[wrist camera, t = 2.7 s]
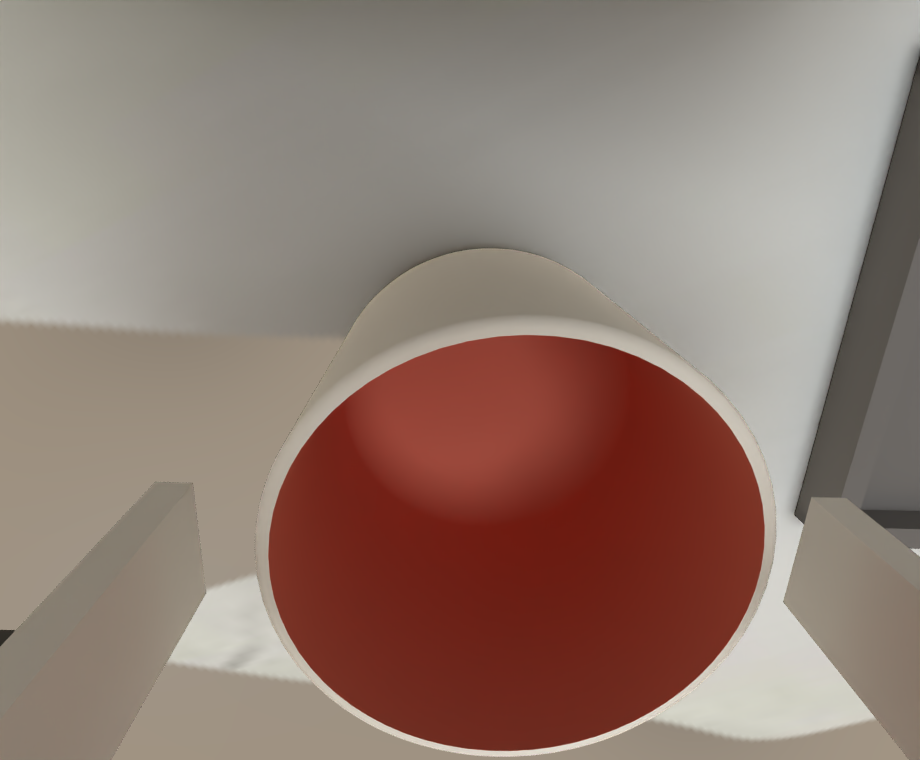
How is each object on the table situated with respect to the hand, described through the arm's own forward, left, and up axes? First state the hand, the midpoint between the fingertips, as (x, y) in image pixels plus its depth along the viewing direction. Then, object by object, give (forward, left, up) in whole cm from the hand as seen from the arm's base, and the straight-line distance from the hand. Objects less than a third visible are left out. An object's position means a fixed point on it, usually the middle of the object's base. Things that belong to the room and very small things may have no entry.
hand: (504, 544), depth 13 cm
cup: (0, 0, -9) cm, 9 cm away
